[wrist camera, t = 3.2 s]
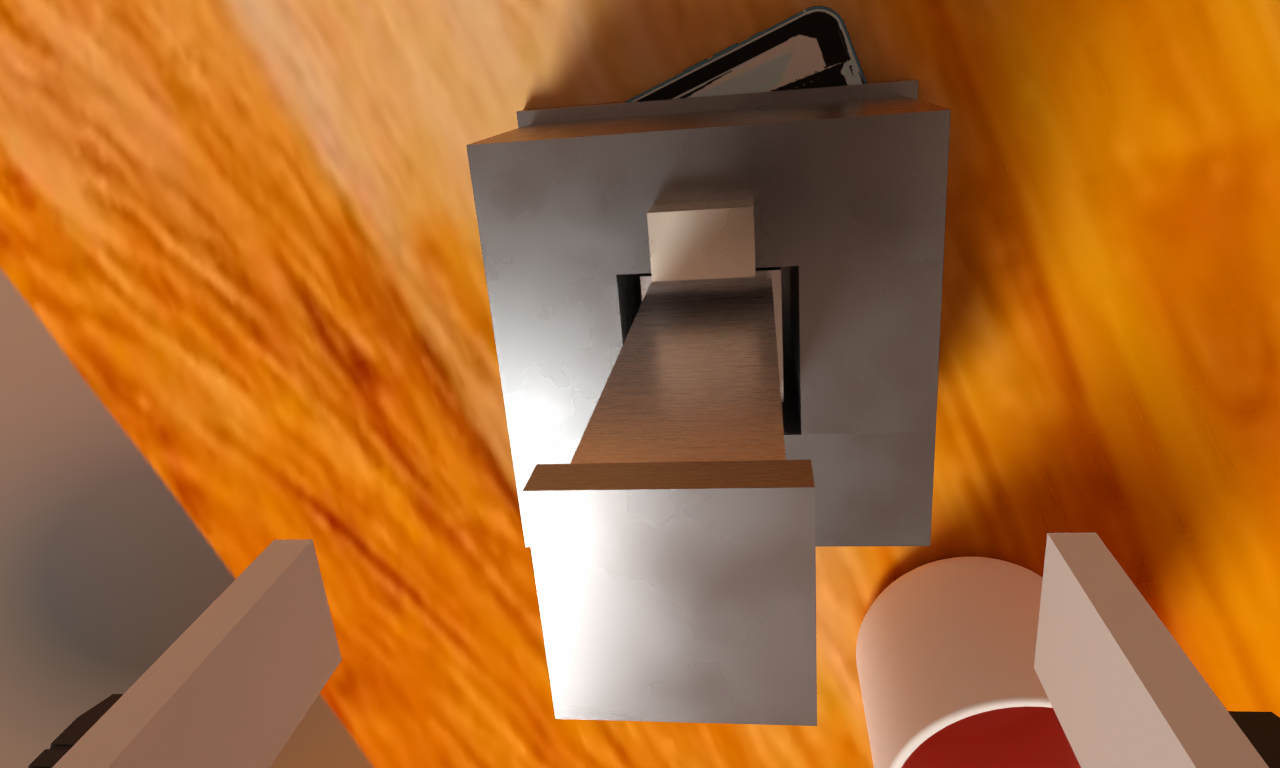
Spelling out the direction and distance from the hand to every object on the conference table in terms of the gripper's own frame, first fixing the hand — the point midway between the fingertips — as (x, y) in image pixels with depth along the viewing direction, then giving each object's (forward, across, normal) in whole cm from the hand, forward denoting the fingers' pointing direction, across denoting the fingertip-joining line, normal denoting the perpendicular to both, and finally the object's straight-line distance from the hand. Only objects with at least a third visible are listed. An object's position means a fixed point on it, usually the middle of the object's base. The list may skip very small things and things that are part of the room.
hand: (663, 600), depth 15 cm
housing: (+22, 0, 0) cm, 22 cm away
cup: (+22, +11, -17) cm, 30 cm away
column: (+20, 0, 0) cm, 20 cm away
